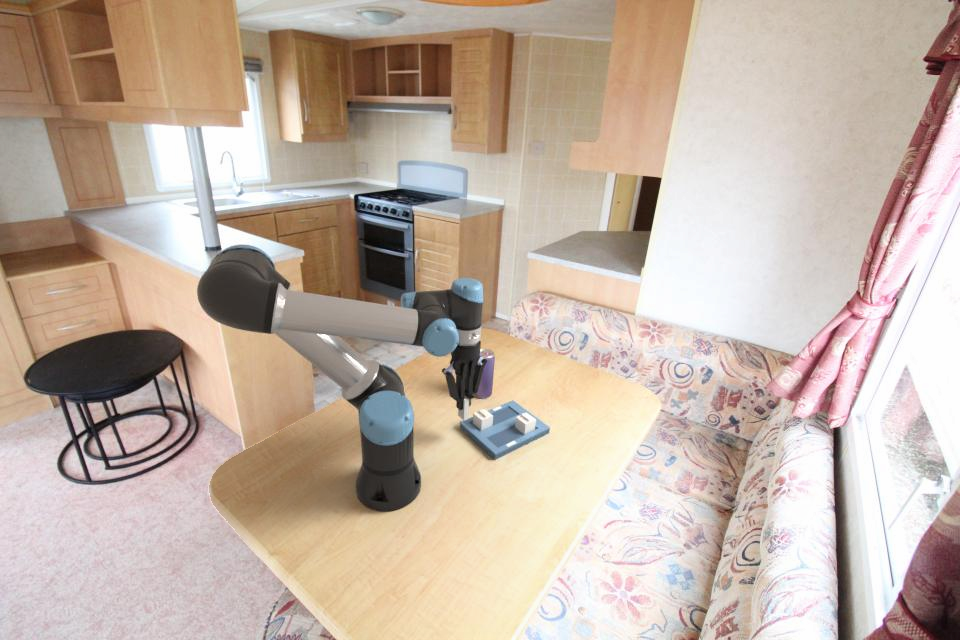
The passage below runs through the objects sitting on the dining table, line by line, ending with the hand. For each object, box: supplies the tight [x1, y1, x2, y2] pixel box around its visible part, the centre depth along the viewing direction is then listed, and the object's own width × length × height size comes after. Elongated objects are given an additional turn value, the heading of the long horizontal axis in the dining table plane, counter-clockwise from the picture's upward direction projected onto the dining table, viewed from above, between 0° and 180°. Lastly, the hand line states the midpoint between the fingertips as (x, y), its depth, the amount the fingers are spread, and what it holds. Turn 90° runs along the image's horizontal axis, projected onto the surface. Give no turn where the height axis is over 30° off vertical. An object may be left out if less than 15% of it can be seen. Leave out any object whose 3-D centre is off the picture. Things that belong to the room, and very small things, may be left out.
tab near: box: [515, 412, 536, 435], centre depth 130 cm, size 4×4×4 cm
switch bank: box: [459, 399, 551, 461], centre depth 132 cm, size 20×16×2 cm
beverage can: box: [473, 348, 496, 400], centre depth 145 cm, size 6×6×15 cm
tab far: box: [472, 408, 493, 431], centre depth 131 cm, size 4×4×4 cm
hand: (463, 417), depth 125 cm, fingers closed
